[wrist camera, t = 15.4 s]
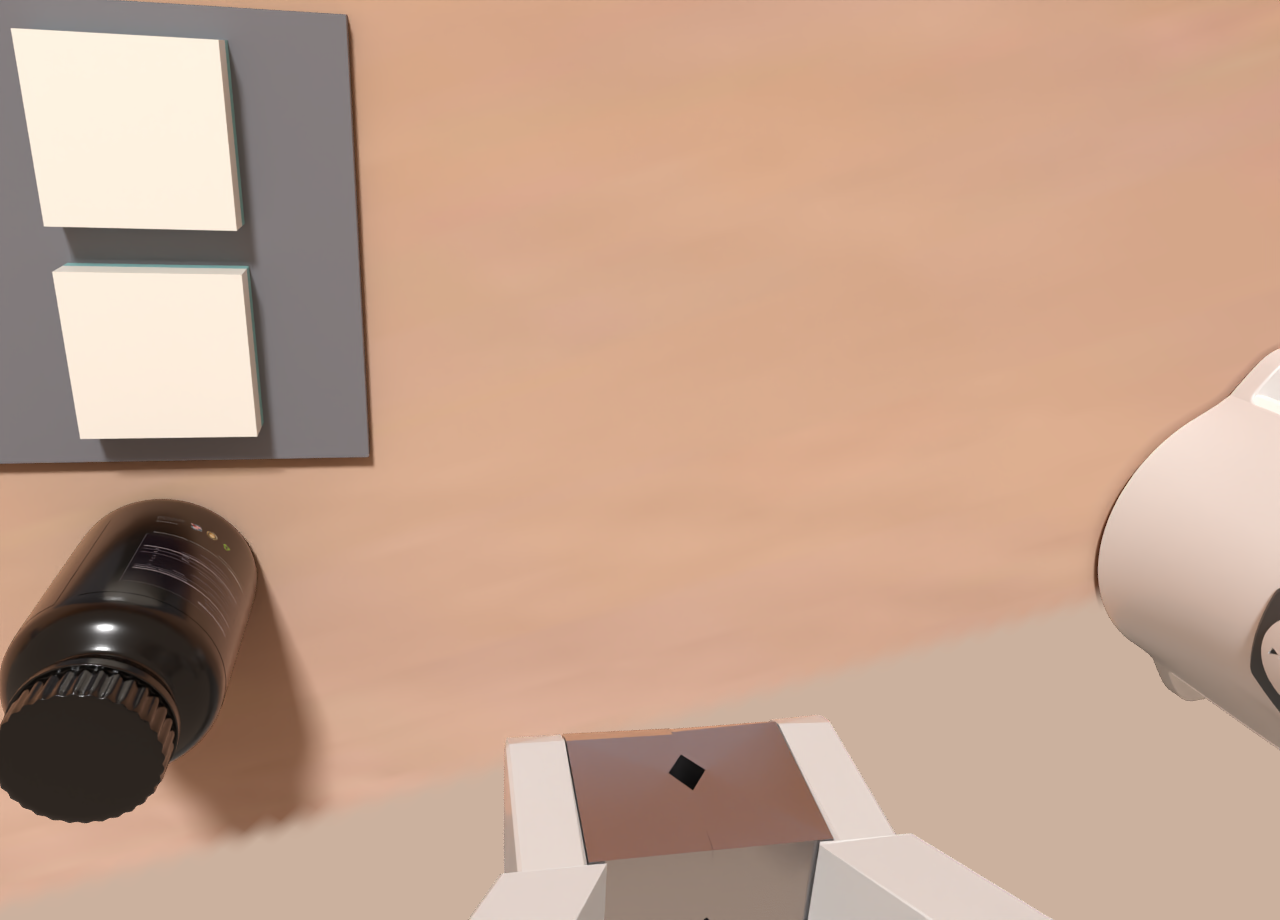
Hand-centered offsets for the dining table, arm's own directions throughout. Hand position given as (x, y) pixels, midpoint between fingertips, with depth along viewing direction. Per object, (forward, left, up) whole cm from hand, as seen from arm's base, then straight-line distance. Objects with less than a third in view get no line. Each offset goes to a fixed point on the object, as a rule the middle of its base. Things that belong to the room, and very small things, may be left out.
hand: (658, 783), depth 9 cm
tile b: (+9, -3, -30) cm, 31 cm away
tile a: (+9, +5, -30) cm, 31 cm away
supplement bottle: (+13, +14, -31) cm, 37 cm away
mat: (+13, +1, -31) cm, 34 cm away
